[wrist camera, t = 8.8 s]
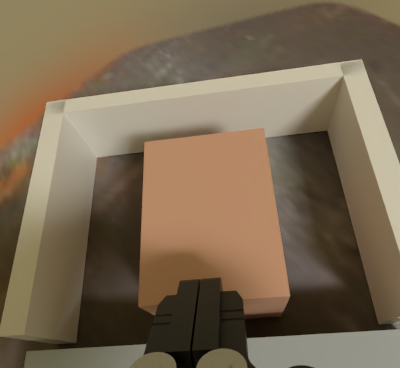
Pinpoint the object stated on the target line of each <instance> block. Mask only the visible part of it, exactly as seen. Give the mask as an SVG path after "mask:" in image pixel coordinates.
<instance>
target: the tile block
mask: <svg viewBox="0 0 400 368" xmlns="http://www.w3.org/2000/svg"><path fill="white" fill-rule="evenodd" d="M218 277H221V280H222V288H223V291H235V290H236V291H237V292H238V293H239V295H240V296H241V297H242V299H243V306H244V315H245V319H253V318H269V317H281V316H282V313H283V311H284V309H285V307H286V305H287V302H288V300H289V298H290V291H289V284H288V278H287V272H286V265H285V259H284V253H283V246H282V240H281V234H280V227H279V221H278V214H277V208H276V202H275V195H274V189H273V183H272V176H271V170H270V164H269V157H268V151H267V145H266V138H265V132H264V128H259V129H250V130H242V131H233V132H225V133H216V134H208V135H199V136H191V137H182V138H174V139H165V140H157V141H148V142H145V145H144V171H143V196H142V222H141V248H140V274H139V300H138V307H140V308H142V309H143V310H145V311H147V312H149V313H151V314H153V315H155V314H156V310H157V307H158V304H159V303H160V302H161V301H162V300H163V299H164V298H165V297H166V295H177V290H178V286H179V282H180V280H193V279H200V281H201V279H205V278H218Z"/></svg>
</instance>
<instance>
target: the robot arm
mask: <svg viewBox="0 0 400 368" xmlns="http://www.w3.org/2000/svg"><path fill="white" fill-rule="evenodd" d="M130 368H256V367H255V366H254V365H253V364H252V363H251V362H250V360H249V358H248V345H247V333H246V324H245V315H244V306H243V299H242V297H241V296H240V295H239V293H238V292H237V291H236V290H235V291H223V288H222V280H221V277H218V278H205V279H201V281H200V279H193V280H180V282H179V286H178V290H177V295H166V297H165V298H164V299H163V300H162V301H161V302H160V303H159V304H158V307H157V310H156V314H155V317H154V321H153V326H152V327H151V331H150V334H149V338H148V341H147V344H146V348H145V351H144V355H143V356H141V357H140V358H138V359H137V360H136V361H134V363H133V364H132V365H131V366H130ZM289 368H314V367H311V366H306V365H297V366H292V367H289Z"/></svg>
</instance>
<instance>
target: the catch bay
mask: <svg viewBox="0 0 400 368" xmlns="http://www.w3.org/2000/svg"><path fill="white" fill-rule="evenodd" d="M259 128H264V132H265V138H268V137H276V136H285V135H293V134H302V133H310V132H319V131H328V135H329V139H330V142H331V146H332V150H333V154H334V157H335V161H336V165H337V169H338V173H339V176H340V180H341V184H342V188H343V192H344V195H345V199H346V203H347V207H348V211H349V214H350V218H351V222H352V226H353V230H354V233H355V237H356V241H357V245H358V249H359V252H360V256H361V260H362V264H363V268H364V271H365V275H366V279H367V283H368V286H369V290H370V294H371V298H372V302H373V305H374V309H375V313H376V317H377V321H378V324H379V325H380V324H397V323H400V164H399V161H398V158H397V156H396V153H395V150H394V147H393V145H392V142H391V139H390V136H389V133H388V131H387V128H386V125H385V122H384V120H383V117H382V114H381V111H380V109H379V106H378V103H377V100H376V98H375V95H374V92H373V89H372V87H371V84H370V81H369V78H368V76H367V73H366V70H365V67H364V65H363V62H362V59H361V60H353V61H346V62H339V63H331V64H324V65H317V66H309V67H302V68H294V69H287V70H280V71H272V72H265V73H258V74H250V75H243V76H236V77H228V78H221V79H214V80H206V81H199V82H192V83H184V84H177V85H170V86H162V87H155V88H147V89H140V90H133V91H125V92H118V93H111V94H103V95H96V96H89V97H81V98H74V99H67V100H59V101H52V102H47V104H46V109H45V114H44V119H43V123H42V128H41V133H40V138H39V143H38V147H37V152H36V157H35V162H34V166H33V171H32V176H31V181H30V186H29V190H28V195H27V200H26V205H25V210H24V214H23V219H22V224H21V229H20V233H19V238H18V243H17V248H16V253H15V257H14V262H13V267H12V272H11V277H10V281H9V286H8V291H7V296H6V300H5V305H4V310H3V315H2V320H1V324H0V337H6V338H14V339H21V340H29V341H36V342H43V343H51V344H66V343H76V341H77V332H78V323H79V314H80V305H81V296H82V287H83V278H84V269H85V261H86V252H87V243H88V234H89V225H90V216H91V207H92V198H93V189H94V180H95V171H96V162H97V157H105V156H114V155H122V154H131V153H140V152H144V145H145V142H148V141H157V140H165V139H174V138H182V137H191V136H199V135H208V134H216V133H225V132H233V131H242V130H250V129H259Z"/></svg>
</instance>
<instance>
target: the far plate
mask: <svg viewBox="0 0 400 368" xmlns="http://www.w3.org/2000/svg"><path fill="white" fill-rule="evenodd" d="M247 345H248V358H249V360H250V362H251V363H252V364H253V365H254V366H255V367H256V368H289V367H292V366H297V365H306V366H311V367H314V368H400V329H396V330H379V331H362V332H345V333H328V334H311V335H294V336H277V337H260V338H247ZM145 348H146V344H141V345H124V346H107V347H90V348H73V349H56V350H39V351H27V352H26V358H25V363H24V368H130V366H131V365H132V364H133V363H134V361H136V360H137V359H138V358H140V357H141V356H143V355H144V351H145Z"/></svg>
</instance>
